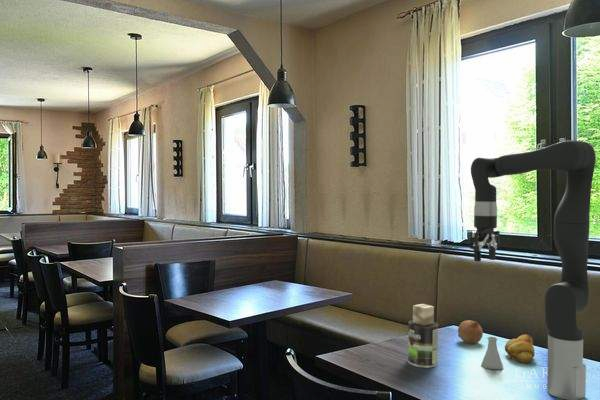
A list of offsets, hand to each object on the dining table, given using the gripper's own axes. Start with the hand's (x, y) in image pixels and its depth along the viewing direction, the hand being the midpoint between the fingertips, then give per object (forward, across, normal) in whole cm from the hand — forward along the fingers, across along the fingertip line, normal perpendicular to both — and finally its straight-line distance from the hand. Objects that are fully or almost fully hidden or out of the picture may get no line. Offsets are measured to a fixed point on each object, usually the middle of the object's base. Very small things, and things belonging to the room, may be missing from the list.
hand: (484, 260), depth 172 cm
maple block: (+22, -18, +12) cm, 31 cm away
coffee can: (+36, -18, +12) cm, 42 cm away
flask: (+36, -1, -4) cm, 37 cm away
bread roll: (+36, +15, -5) cm, 40 cm away
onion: (+36, +16, +17) cm, 43 cm away
